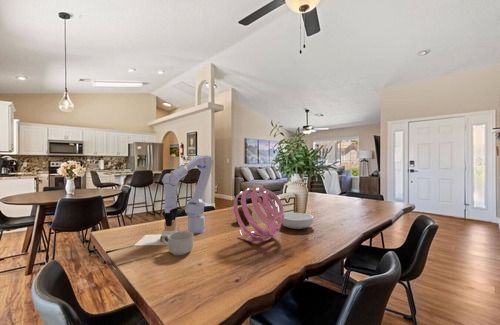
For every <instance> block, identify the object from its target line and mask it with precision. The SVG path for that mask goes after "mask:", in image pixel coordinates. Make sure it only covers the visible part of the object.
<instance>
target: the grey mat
mask: <svg viewBox="0 0 500 325" xmlns="http://www.w3.org/2000/svg"><path fill="white" fill-rule="evenodd" d="M161 236H162V233H160V234H145V235H144V236H142V238H140V240H138V241H137V242H136V243H135V244H134V245H133V247H135V246H136V247H137V246H166V245H165V244H164V243H163V242H160V237H161ZM167 243H168V242H167Z"/></svg>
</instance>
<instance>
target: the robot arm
mask: <svg viewBox="0 0 500 325" xmlns="http://www.w3.org/2000/svg"><path fill="white" fill-rule="evenodd" d="M213 164H214V160H213V157H212V156H211V155H208V154H207V155H196V156H193V158H192V159H191V160H190V161H188V162H187V163H186V164H184V165H178V166H176V168H175V169H173V170H171V171H170V173H165V174H164V176H163V177H162V179H161V182H162V183H163V187H164V205H162V206H161V207H162V208H164V211H162V213H161V214H162V216H163V218H164V223H165V222H166V226H171V225H172V220H176V217H177V213H178V211H179V207H178V205H177V201H178V200H177V197H178V194H177V189H178V186H177V185H179V182H180V181H181V179H183V178H184V177H186V176H187V175H188V172H189V171H191V170H192V169H193V168H195V167H196V168H197V169H198V170H199V171H200V174H199V176H198V181H197V184H196V186H195V190H194V193H193V196H192V198H190V199H189V200H188V202H187V204H186V205H185V207H184V212H185V214H186V215H187V230H186V231H188V232H191V233H193V234H204V233H205V231H206V223H205V222H206V218H205V215H203V214H204V212H205V205H206V204H205V202H204V201H203V199H204V196H205V193H206V188H207V186H208V183H209V179H210V176H211V172H212V167H213Z"/></svg>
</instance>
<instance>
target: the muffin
mask: <svg viewBox="0 0 500 325" xmlns="http://www.w3.org/2000/svg"><path fill="white" fill-rule="evenodd" d="M237 208H238V212H239V215H240V218H241V220H242V222H243V223H244V225H248V224H250V223H249V222H248V220H247V218H246V217H245V214H244V212H243V209H242V206H240V207H237ZM247 208H248V210H249V213H250V215H251V216H252V215H253V210H252V209H251V208H250V207H248V206H247ZM235 220H236V223H237V224H238V225H239V223H238V221H237V219H236V218H235Z"/></svg>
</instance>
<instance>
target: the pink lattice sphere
mask: <svg viewBox="0 0 500 325" xmlns="http://www.w3.org/2000/svg"><path fill="white" fill-rule="evenodd" d="M250 190H252V191H250ZM258 193H259V194H261V195H262V196H261V197H262V198H261V197H260V196H259V195H258ZM240 195H241V198H240V203H241V207H242V209H243V212H244V214H245V217H246V218H247V220H248V222H249V224H250V226H251V227H252V228H253V229H254V230H255V231H252V230H249V229H248V228H247V226H246V224H244V223H243V222H242V220H241V218H240V215H239V212H238V208H239V207H238V199H239V197H240ZM247 195H248V196H249V197H251V199H250V200H251V203H252V206H253V209H254V211H255V213H256V215H257V216H258V218H259V219H260V220H261V221H262V222H263V223H264V224H265V225H266V226H267V228H266V229H265V230H264V229H263V228H262V227H261V226H260V225H259V224H257V222H256V221H255V220H254V218H253V217H252V216H251V215H250V213H249V210H248V208H249V207H248V205H247ZM270 196H271V197H272V198H273V199H274V201H275V202H276V204H277V206H276V204H275V202H274V201H273V199H272V198H271V197H270ZM259 204H260V205H261V207H262V208H263V210H264V211H265V213H266V215H265V214H264V212H263V211H262V209H261V207H260V205H259ZM247 207H248V208H247ZM278 207H279V210H280V211H279V210H278ZM233 213H234V215H235V220H236V219H237V220H236V222H237V221H238V223H239V224H238V223H237V224H238V225H239V227H240V228H241V230H242V231H243V232H244V233H245V234H246V235H247V237H249V238H246V237H245V236H244V234H243V233H242V231H241V230H240V229H239V230H238V233H239V235H240V237H241V238H242V239H243V240H244V241H247V242H248V243H249V242H250V243H256V242H257V243H258V242H259V243H265V242H267V241H269V240H271V239H272V238H273V237H275V236H276V235H278V233H279V232H280V230H281V228H282V226H283V221H284V213H285V210H284V205H283V203H282V201H281V200H280V198H279V196H278V195H277V194H276V193H274V192H273V191H271V190H269V189H267V188H265V187H263V186H262V187H261V186H257V187H253V186H252V187H248V188H246V189H244V190H243V191H240V192H239V193H238V194H237V195H236V196H235V198H234V200H233ZM281 217H282V221H281V219H280V218H281ZM276 221H277V223H276Z"/></svg>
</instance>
